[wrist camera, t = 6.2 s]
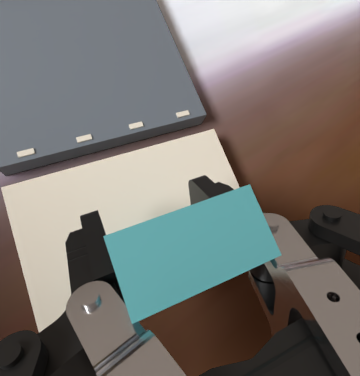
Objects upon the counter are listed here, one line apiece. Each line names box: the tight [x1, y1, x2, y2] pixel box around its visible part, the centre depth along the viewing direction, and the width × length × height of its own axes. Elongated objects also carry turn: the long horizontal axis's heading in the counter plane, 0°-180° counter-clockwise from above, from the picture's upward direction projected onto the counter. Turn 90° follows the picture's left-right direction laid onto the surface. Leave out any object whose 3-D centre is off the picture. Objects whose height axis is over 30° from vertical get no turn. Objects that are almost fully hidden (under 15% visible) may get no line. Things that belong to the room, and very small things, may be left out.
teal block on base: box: [1, 129, 281, 333], centre depth 11 cm, size 12×8×9 cm, turn 112°
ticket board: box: [0, 0, 207, 176], centre depth 18 cm, size 12×14×1 cm
